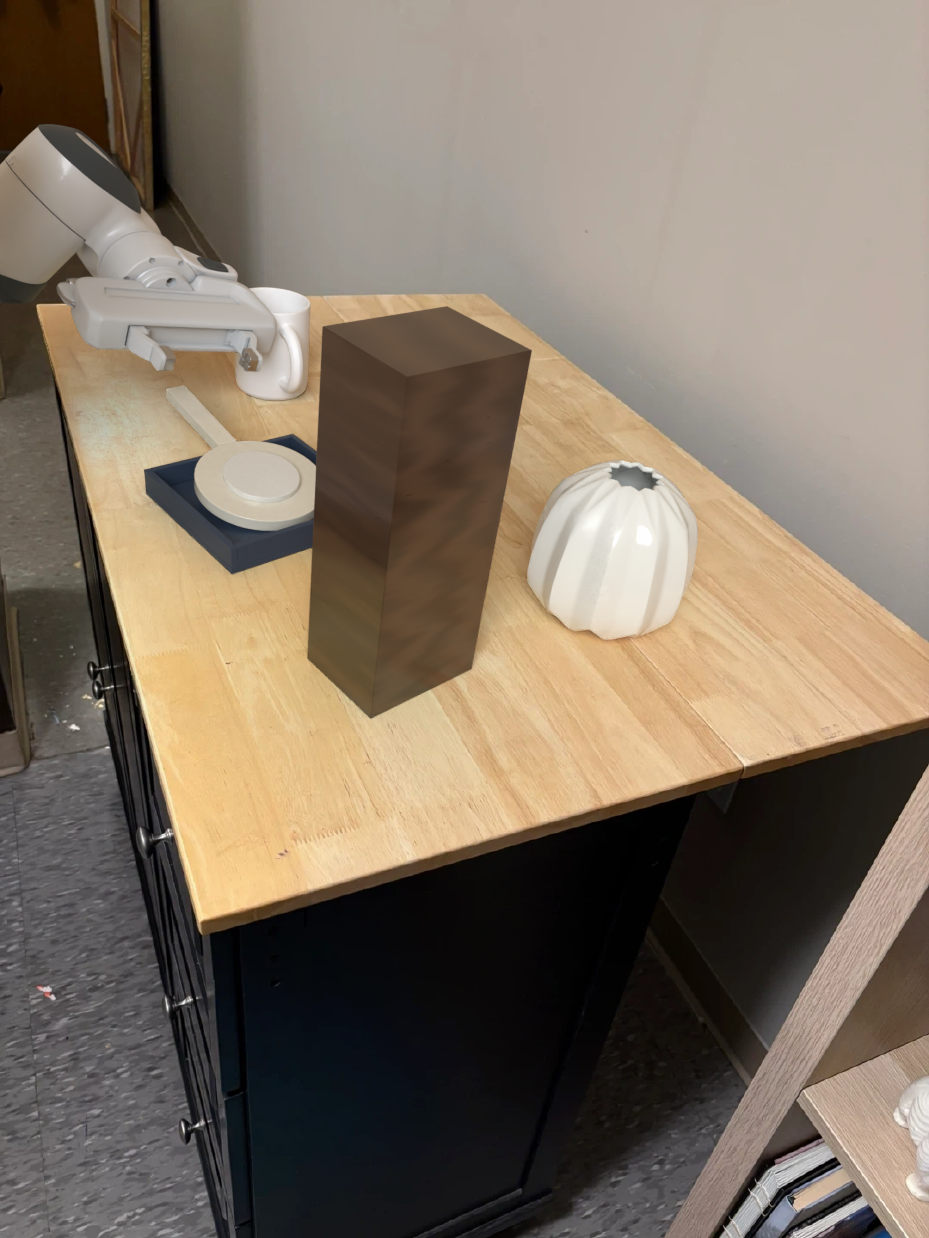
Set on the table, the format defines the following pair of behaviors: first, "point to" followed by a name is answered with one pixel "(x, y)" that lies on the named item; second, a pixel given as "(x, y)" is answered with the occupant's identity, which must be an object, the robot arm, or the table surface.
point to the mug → (281, 349)
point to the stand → (408, 498)
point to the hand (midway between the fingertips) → (212, 365)
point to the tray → (215, 535)
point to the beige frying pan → (247, 474)
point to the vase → (614, 550)
